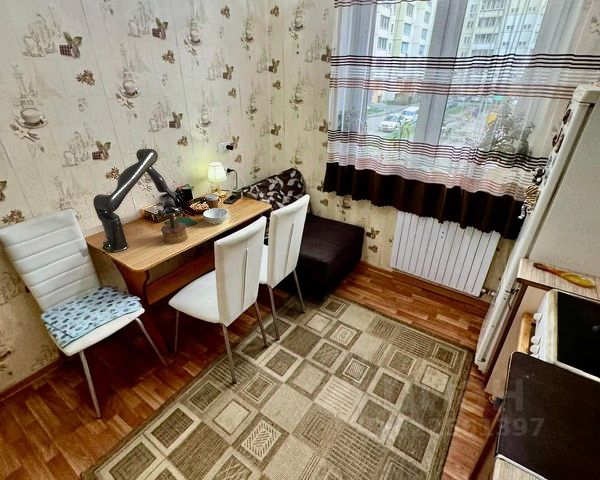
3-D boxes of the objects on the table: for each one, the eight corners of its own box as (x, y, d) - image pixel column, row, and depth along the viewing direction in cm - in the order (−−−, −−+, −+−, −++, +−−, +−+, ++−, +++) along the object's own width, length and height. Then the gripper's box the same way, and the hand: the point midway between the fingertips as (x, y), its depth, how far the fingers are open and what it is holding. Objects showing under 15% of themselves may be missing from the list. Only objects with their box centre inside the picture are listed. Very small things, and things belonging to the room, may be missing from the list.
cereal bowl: (200, 221, 216) (198, 211, 213) (221, 215, 226) (220, 206, 223) (211, 229, 205) (210, 219, 202) (233, 222, 215) (232, 213, 212)
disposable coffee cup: (220, 212, 229) (218, 197, 224) (206, 213, 228) (204, 198, 222) (220, 208, 238) (218, 193, 232) (207, 208, 236) (205, 194, 230)
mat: (174, 230, 203) (174, 229, 202) (165, 222, 213) (164, 221, 213) (196, 223, 212) (196, 223, 212) (186, 216, 222) (186, 215, 222)
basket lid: (161, 236, 181) (158, 220, 176) (160, 226, 192) (157, 211, 187) (187, 231, 186) (184, 216, 181) (184, 222, 198) (182, 207, 193)
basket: (164, 245, 185) (162, 234, 181) (163, 236, 195) (161, 225, 192) (188, 241, 190) (186, 230, 186) (185, 232, 200) (184, 222, 197)
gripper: (156, 202, 195) (157, 212, 182) (179, 199, 200) (182, 208, 187) (158, 213, 198) (159, 223, 185) (181, 210, 203) (184, 219, 191)
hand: (171, 215), depth 186 cm, fingers open, 8 cm apart
